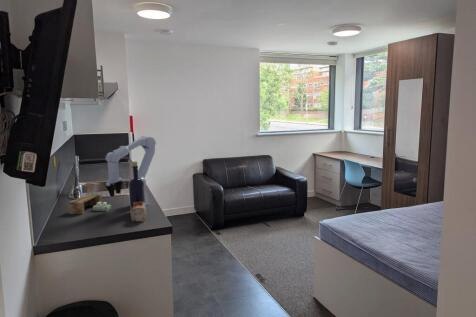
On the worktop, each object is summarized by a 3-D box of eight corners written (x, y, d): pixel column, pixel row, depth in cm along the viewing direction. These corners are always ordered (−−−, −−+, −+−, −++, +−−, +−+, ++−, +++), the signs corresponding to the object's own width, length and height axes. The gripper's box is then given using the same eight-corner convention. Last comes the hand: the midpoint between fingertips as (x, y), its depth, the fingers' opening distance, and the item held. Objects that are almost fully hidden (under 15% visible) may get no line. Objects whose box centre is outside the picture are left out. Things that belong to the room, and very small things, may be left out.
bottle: (147, 209, 205) (144, 160, 200) (144, 214, 195) (140, 162, 191) (132, 210, 204) (129, 160, 200) (127, 214, 195) (124, 163, 191)
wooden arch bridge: (101, 204, 217) (101, 194, 216) (83, 214, 198) (82, 202, 197) (89, 204, 219) (88, 194, 218) (69, 213, 200) (68, 202, 199)
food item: (146, 222, 182) (145, 204, 180) (130, 224, 180) (129, 205, 178) (146, 214, 195) (145, 198, 193) (132, 216, 193) (131, 199, 192)
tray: (111, 208, 208) (110, 201, 208) (106, 211, 203) (106, 203, 203) (97, 208, 210) (97, 201, 209) (92, 210, 205) (92, 203, 204)
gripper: (113, 170, 209) (115, 191, 211) (100, 174, 195) (102, 197, 197) (124, 170, 208) (126, 192, 210) (111, 175, 194) (113, 198, 196)
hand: (115, 195), depth 204 cm, fingers open, 6 cm apart
